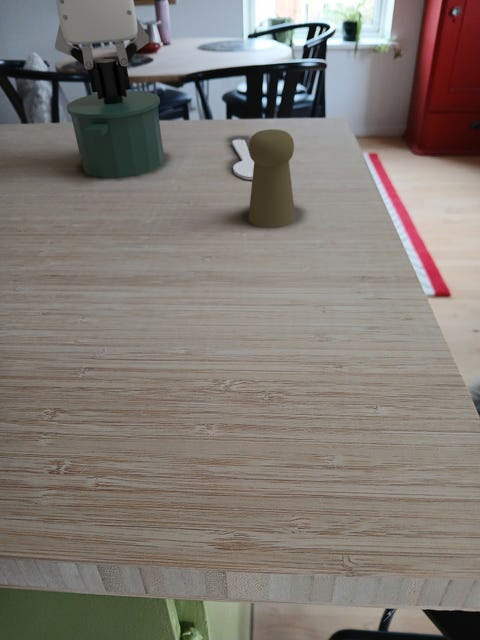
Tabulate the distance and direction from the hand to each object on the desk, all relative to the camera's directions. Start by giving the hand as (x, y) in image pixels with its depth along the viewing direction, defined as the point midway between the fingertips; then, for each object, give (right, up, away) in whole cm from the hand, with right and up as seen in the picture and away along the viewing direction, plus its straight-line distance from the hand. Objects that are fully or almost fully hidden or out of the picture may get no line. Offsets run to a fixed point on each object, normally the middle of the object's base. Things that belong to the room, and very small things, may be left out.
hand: (112, 94), depth 75 cm
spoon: (+20, -7, +7) cm, 22 cm away
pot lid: (0, -1, +1) cm, 2 cm away
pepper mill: (+23, -21, -11) cm, 33 cm away
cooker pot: (0, -9, +7) cm, 11 cm away
